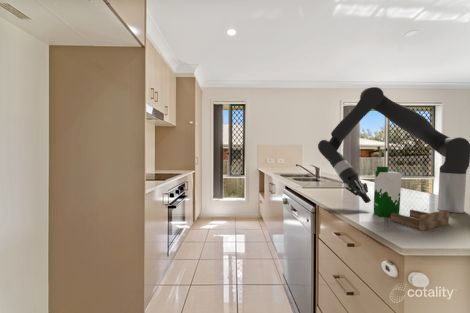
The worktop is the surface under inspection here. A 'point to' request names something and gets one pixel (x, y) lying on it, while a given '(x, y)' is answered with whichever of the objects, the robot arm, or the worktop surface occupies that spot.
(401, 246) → the worktop surface
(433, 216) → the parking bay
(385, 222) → the worktop surface
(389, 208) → the soya milk
